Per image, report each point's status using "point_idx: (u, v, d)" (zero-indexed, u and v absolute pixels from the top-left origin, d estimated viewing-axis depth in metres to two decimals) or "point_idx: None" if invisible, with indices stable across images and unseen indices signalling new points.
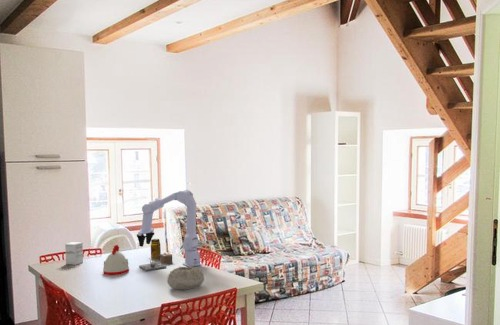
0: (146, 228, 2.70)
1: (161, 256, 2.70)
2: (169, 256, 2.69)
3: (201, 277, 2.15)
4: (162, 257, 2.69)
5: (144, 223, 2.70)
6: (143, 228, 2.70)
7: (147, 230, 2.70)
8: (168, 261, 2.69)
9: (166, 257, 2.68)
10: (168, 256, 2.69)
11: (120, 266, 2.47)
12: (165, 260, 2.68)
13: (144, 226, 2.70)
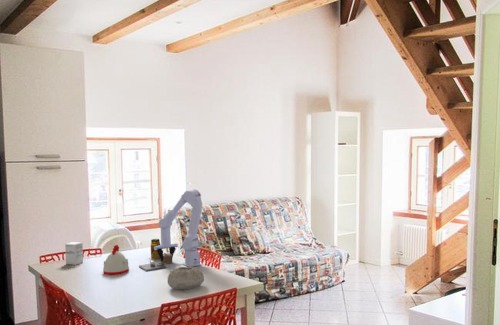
0: (163, 243, 2.68)
1: None
2: (169, 256, 2.69)
3: (201, 277, 2.15)
4: None
5: (163, 238, 2.68)
6: (161, 243, 2.69)
7: (164, 245, 2.68)
8: (168, 261, 2.69)
9: (166, 257, 2.68)
10: (168, 256, 2.69)
11: (120, 266, 2.47)
12: (165, 260, 2.68)
13: (161, 241, 2.69)
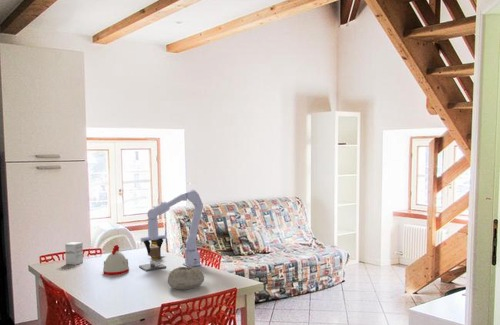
0: (150, 234, 2.58)
1: None
2: (156, 248, 2.59)
3: (201, 277, 2.15)
4: None
5: (152, 229, 2.58)
6: (148, 234, 2.60)
7: (151, 236, 2.58)
8: (155, 253, 2.59)
9: (153, 249, 2.58)
10: (155, 248, 2.59)
11: (120, 266, 2.47)
12: (152, 252, 2.58)
13: (148, 232, 2.59)
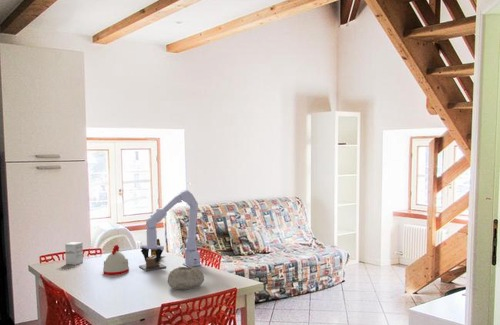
0: None
1: None
2: (151, 259, 2.57)
3: (201, 277, 2.15)
4: None
5: (151, 238, 2.57)
6: None
7: (147, 245, 2.58)
8: (150, 264, 2.57)
9: (148, 260, 2.57)
10: (150, 259, 2.57)
11: (120, 266, 2.47)
12: (147, 263, 2.58)
13: None
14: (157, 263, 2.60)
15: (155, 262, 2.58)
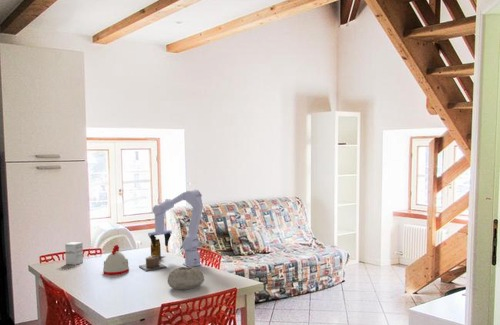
0: (157, 229, 2.70)
1: None
2: (151, 259, 2.57)
3: (201, 277, 2.15)
4: None
5: (156, 224, 2.70)
6: (155, 229, 2.71)
7: (158, 231, 2.70)
8: (150, 264, 2.57)
9: (148, 260, 2.57)
10: (150, 259, 2.57)
11: (120, 266, 2.47)
12: (147, 263, 2.58)
13: (155, 227, 2.71)
14: (157, 263, 2.60)
15: (155, 262, 2.58)
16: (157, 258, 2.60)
